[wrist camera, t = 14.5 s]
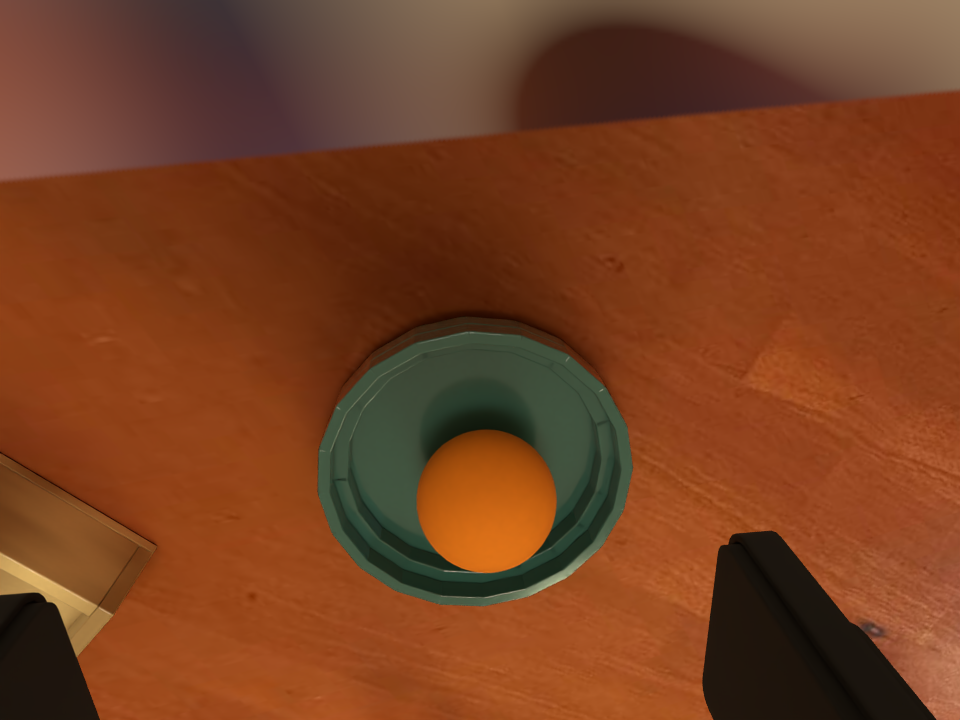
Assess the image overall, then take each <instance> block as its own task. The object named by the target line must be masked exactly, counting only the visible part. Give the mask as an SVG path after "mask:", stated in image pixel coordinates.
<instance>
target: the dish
mask: <svg viewBox="0 0 960 720" xmlns="http://www.w3.org/2000/svg"><path fill="white" fill-rule="evenodd" d="M485 429H487V430H498V431H503V432H506V433H509V434H512V435H514V436H517V437H519V438H520V439H522V440H524V441H525V442H527V443H528V444H529V445H530V446H532V447H533V448H534V449H535V450H536V451H537V452H538V453H539V455H540V456H541V457H542V458H543V460H544V461H545V463H546V464H547V466H548V468H549V470H550V472H551V475H552V477H553V480H554V484H555V489H556V499H557V504H556V514H555V518H554V522H553V525H552V528H551V531H550V533H549V535H548V536H547V538H546V540H545V542H544V543H543V544H542V546H541V547H540V548H539V549H538V550H537V551H536V552H535V553H534V554H533V555H532V556H531V557H530V558H529V559H528V560H526V561H525V562H523V563H521V564H520V565H518V566H516V567H513V568H511V569H508V570H505V571H500V572H494V573H480V572H474V571H469V570H465V569H462V568H460V567H458V566H456V565H454V564H452V563H450V562H449V561H447V560H446V559H445V558H443V557H442V556H441V555H440V554H439V553H438V552H437V551H436V550H435V549H434V548H433V547H432V545H431V544H430V543H429V541H428V540H427V538H426V536H425V534H424V532H423V530H422V528H421V525H420V522H419V518H418V513H417V490H418V484H419V480H420V477H421V474H422V472H423V470H424V468H425V466H426V464H427V462H428V461H429V459H430V458H431V457H432V455H433V454H434V453H435V452H436V451H437V450H438V449H439V448H440V447H441V446H442V445H443V444H445V443H446V442H448V441H449V440H451V439H453V438H454V437H456V436H458V435H461V434H463V433H466V432H470V431H475V430H485ZM632 471H633V464H632V457H631V449H630V442H629V435H628V428H627V425H626V423H625V421H624V419H623V417H622V415H621V414H620V412H619V410H618V408H617V406H616V404H615V403H614V401H613V399H612V397H611V395H610V393H609V392H608V390H607V388H606V386H605V385H604V383H603V381H602V380H601V378H600V377H599V375H598V373H597V372H596V370H595V369H594V368H593V367H592V366H591V365H590V364H589V363H587V362H586V361H585V360H584V359H583V358H582V357H581V356H579V355H578V354H577V353H576V352H575V351H574V350H573V349H572V348H570V347H569V346H568V345H567V344H566V343H565V342H564V341H562V340H560V339H559V338H557V337H555V336H552V335H550V334H547V333H545V332H543V331H540V330H538V329H535V328H533V327H531V326H528V325H526V324H523V323H521V322H519V321H514V320H504V319H492V318H480V317H466V316H464V317H459V318H455V319H450V320H446V321H441V322H437V323H432V324H427V325H423V326H418V327H417V328H414V329H412V330H410V331H409V332H407V333H405V334H403V335H402V336H400V337H398V338H396V339H395V340H393V341H391V342H390V343H388V344H386V345H384V346H383V347H381V348H379V349H377V350H376V351H374V352H373V353H372V354H371V355H370V356H369V357H368V358H367V360H366V361H365V362H364V363H363V364H362V365H361V366H360V367H359V369H358V370H357V371H356V372H355V373H354V374H353V375H352V376H351V378H350V379H349V380H348V381H347V382H346V383H345V384H344V385H343V387H342V389H341V391H340V394H339V396H338V399H337V401H336V403H335V406H334V408H333V411H332V413H331V416H330V418H329V421H328V423H327V426H326V428H325V431H324V434H323V437H322V440H321V443H320V446H319V450H318V490H317V492H318V496H319V499H320V501H321V504H322V507H323V510H324V513H325V515H326V518H327V521H328V524H329V527H330V530H331V532H332V534H333V536H334V537H335V538H336V539H337V540H338V542H339V543H340V544H341V545H342V547H343V548H344V549H345V550H346V552H347V553H348V554H349V555H350V556H351V558H352V559H353V560H354V561H355V563H356V564H357V565H358V566H359V567H360V568H361V569H363V570H364V571H366V572H367V573H369V574H370V575H372V576H373V577H375V578H376V579H378V580H379V581H381V582H382V583H384V584H386V585H387V586H389V587H390V588H392V589H393V590H395V591H397V592H400V593H404V594H407V595H410V596H413V597H417V598H420V599H423V600H426V601H430V602H433V603H436V604H440V605H463V606H488V605H492V604H497V603H502V602H506V601H511V600H516V599H521V598H525V597H528V596H531V595H533V594H535V593H537V592H539V591H541V590H543V589H545V588H547V587H549V586H551V585H553V584H555V583H557V582H559V581H561V580H563V579H565V578H567V577H568V576H570V575H571V574H572V573H573V572H574V571H576V570H577V569H578V568H579V567H580V566H581V565H582V564H583V563H584V562H586V561H587V560H588V559H589V558H590V557H591V556H592V555H593V554H594V553H596V552H597V551H598V550H599V549H600V548H601V547H602V546H603V544H604V542H605V541H606V539H607V537H608V536H609V534H610V532H611V531H612V529H613V527H614V526H615V524H616V522H617V521H618V519H619V517H620V516H621V514H622V512H623V510H624V507H625V503H626V498H627V493H628V489H629V484H630V480H631V475H632Z"/></svg>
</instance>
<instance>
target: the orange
mask: <svg viewBox="0 0 960 720" xmlns="http://www.w3.org/2000/svg"><path fill="white" fill-rule="evenodd" d="M556 504H557V499H556V489H555V484H554V480H553V477H552V475H551V472H550V470H549V468H548V466H547V464H546V463H545V461H544V460H543V458H542V457H541V456H540V455H539V453H538V452H537V451H536V450H535V449H534V448H533V447H532V446H530V445H529V444H528V443H527V442H525V441H524V440H522V439H520V438H519V437H517V436H514V435H512V434H509V433H506V432H503V431H498V430H487V429H485V430H475V431H470V432H466V433H463V434H461V435H458V436H456V437H454V438H453V439H451V440H449V441H448V442H446V443H445V444H443V445H442V446H441V447H440V448H439V449H438V450H437V451H436V452H435V453H434V454H433V455H432V457H431V458H430V459H429V461H428V462H427V464H426V466H425V468H424V470H423V472H422V474H421V477H420V480H419V484H418V490H417V513H418V518H419V522H420V525H421V528H422V530H423V532H424V534H425V536H426V538H427V540H428V541H429V543H430V544H431V545H432V547H433V548H434V549H435V550H436V551H437V552H438V553H439V554H440V555H441V556H442V557H443V558H445V559H446V560H447V561H449V562H450V563H452V564H454V565H456V566H458V567H460V568H462V569H465V570H469V571H474V572H480V573H494V572H500V571H505V570H508V569H511V568H513V567H516V566H518V565H520V564H521V563H523V562H525V561H526V560H528V559H529V558H530V557H531V556H532V555H533V554H534V553H535V552H536V551H537V550H538V549H539V548H540V547H541V546H542V544H543V543H544V542H545V540H546V538H547V536H548V535H549V533H550V531H551V528H552V525H553V522H554V518H555V514H556Z"/></svg>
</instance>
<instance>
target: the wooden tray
mask: <svg viewBox="0 0 960 720" xmlns="http://www.w3.org/2000/svg"><path fill="white" fill-rule="evenodd" d="M156 548H157V546H156V545H154V544H152V543H151V542H149V541H147V540H146V539H144V538H142V537H140V536H139V535H137V534H135V533H134V532H132V531H130V530H129V529H127V528H125V527H124V526H122V525H120V524H119V523H117V522H115V521H114V520H112V519H110V518H109V517H107V516H105V515H104V514H102V513H100V512H98V511H97V510H95V509H93V508H92V507H90V506H88V505H87V504H85V503H83V502H82V501H80V500H78V499H77V498H75V497H73V496H72V495H70V494H68V493H67V492H65V491H63V490H62V489H60V488H58V487H56V486H55V485H53V484H51V483H50V482H48V481H46V480H45V479H43V478H41V477H40V476H38V475H36V474H35V473H33V472H31V471H30V470H28V469H26V468H25V467H23V466H21V465H20V464H18V463H16V462H14V461H13V460H11V459H9V458H8V457H6V456H4V455H3V454H1V453H0V595H6V594H18V593H30V592H36V593H40V594H41V595H43V596H44V597H45V599H46V601H47V602H53V603H54V604H55V605H56V606H57V608H58V609H59V612H60V615H61V617H62V620H63V623H64V625H65V628H66V631H67V633H68V636H69V639H70V641H71V644H72V647H73V649H74V652H75V655H76V657H77V656H78V655H79V654H80V653H81V652H82V651H83V650H84V648H85V647H86V646H87V645H88V644H89V643H90V642H91V640H92V639H93V638H94V637H95V636H96V635H97V634H98V633H99V631H100V630H101V629H102V628H103V627H104V626H105V625H106V623H107V622H108V621H109V620H110V619H111V618H112V617H113V615H114V614H115V612H116V611H117V609H118V608H119V606H120V605H121V603H122V601H123V600H124V598H125V597H126V595H127V594H128V592H129V590H130V589H131V587H132V586H133V584H134V583H135V581H136V579H137V578H138V576H139V575H140V573H141V572H142V570H143V569H144V567H145V565H146V564H147V562H148V561H149V559H150V558H151V556H152V554H153V553H154V551H155V550H156Z"/></svg>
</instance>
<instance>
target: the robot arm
mask: <svg viewBox="0 0 960 720" xmlns="http://www.w3.org/2000/svg"><path fill="white" fill-rule="evenodd" d="M702 684H703V692H704V697H705V700H706V704H707V706H708V709H709V711H710V713H711V715H712V717H713V720H936V718H935V717H934V716H933V715H932V714H931V712H930V711H929V710H928V709H927V707H926V706H925V705H924V704H923V703H922V701H921V700H920V699H919V698H918V696H917V695H916V694H915V693H914V692H913V690H912V689H911V688H910V687H909V685H908V684H907V683H906V682H905V681H904V679H903V678H902V677H901V676H900V674H899V673H898V672H897V671H896V670H895V668H894V667H893V666H892V665H891V664H890V662H889V661H888V660H887V659H886V657H885V656H884V655H883V654H882V653H881V651H880V650H879V649H878V648H877V646H876V645H875V644H874V643H873V642H872V640H871V639H870V638H869V637H868V636H867V635H866V634H865V633H864V632H863V631H862V630H861V629H860V628H859V627H858V626H856V625H855V624H853V623H851V622H849V621H848V619H847V618H846V617H845V616H844V614H843V613H842V612H841V611H840V609H839V608H838V607H837V606H836V604H835V603H834V602H833V601H832V600H831V598H830V597H829V596H828V595H827V593H826V592H825V591H824V590H823V588H822V587H821V586H820V585H819V583H818V582H817V581H816V580H815V578H814V577H813V576H812V575H811V573H810V572H809V571H808V570H807V569H806V567H805V566H804V565H803V564H802V562H801V561H800V560H799V559H798V557H797V556H796V555H795V554H794V552H793V551H792V550H791V549H790V547H789V546H788V545H787V544H786V543H785V541H784V540H783V539H782V538H781V536H779V535H778V534H777V533H776V532H774V531H762V532H750V533H738V534H734V535H732V536H731V538H730V540H729V544H728V545H722V546H721V547H720V548H719V551H718V557H717V565H716V573H715V582H714V590H713V598H712V606H711V614H710V622H709V630H708V638H707V646H706V655H705V663H704V671H703V682H702ZM0 720H100V719H99V716H98V713H97V711H96V708H95V705H94V703H93V700H92V697H91V695H90V692H89V689H88V687H87V684H86V681H85V679H84V676H83V673H82V671H81V668H80V665H79V663H78V660H77V657H76V655H75V652H74V649H73V647H72V644H71V641H70V639H69V636H68V633H67V631H66V628H65V625H64V623H63V620H62V617H61V615H60V612H59V609H58V608H57V606H56V605H55V604H54V603H53V602H47V601H46V599H45V597H44V596H43V595H41V594H40V593H36V592H30V593H18V594H6V595H0Z"/></svg>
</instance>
